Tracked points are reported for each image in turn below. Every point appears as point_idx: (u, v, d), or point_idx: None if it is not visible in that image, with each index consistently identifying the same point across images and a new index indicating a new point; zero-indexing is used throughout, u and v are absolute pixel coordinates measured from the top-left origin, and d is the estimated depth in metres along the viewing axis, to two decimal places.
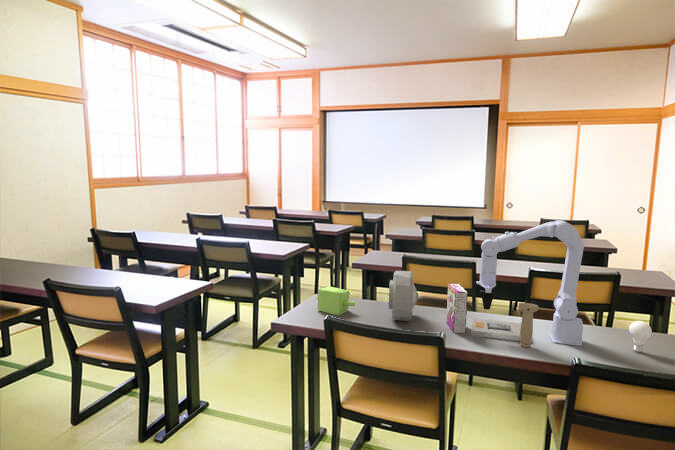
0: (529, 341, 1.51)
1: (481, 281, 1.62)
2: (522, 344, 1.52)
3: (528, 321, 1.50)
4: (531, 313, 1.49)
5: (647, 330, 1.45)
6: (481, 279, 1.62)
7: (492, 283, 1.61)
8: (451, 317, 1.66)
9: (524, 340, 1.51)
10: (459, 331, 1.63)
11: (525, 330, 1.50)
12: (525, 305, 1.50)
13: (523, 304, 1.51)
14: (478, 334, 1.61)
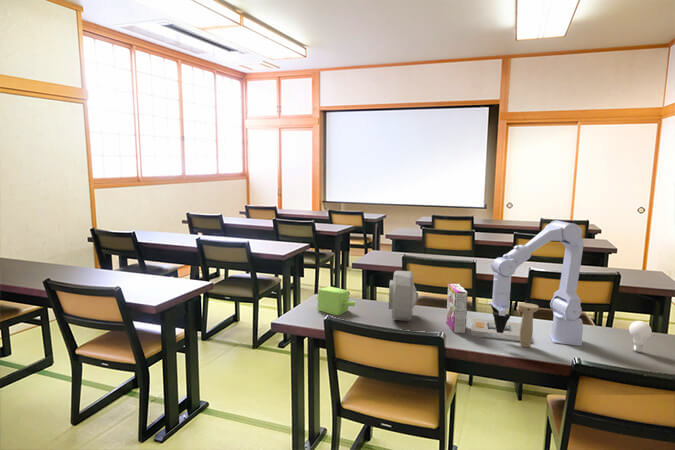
0: (529, 341, 1.51)
1: (494, 302, 1.52)
2: (522, 344, 1.52)
3: (528, 321, 1.50)
4: (531, 313, 1.49)
5: (647, 330, 1.45)
6: (494, 300, 1.52)
7: (506, 305, 1.50)
8: (451, 317, 1.66)
9: (524, 340, 1.51)
10: (459, 331, 1.63)
11: (525, 330, 1.50)
12: (525, 305, 1.50)
13: (523, 304, 1.51)
14: (478, 334, 1.61)
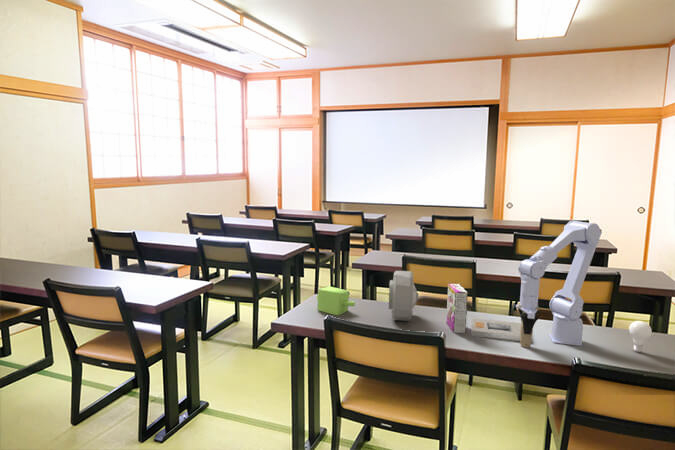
0: (529, 341, 1.51)
1: (522, 305, 1.50)
2: (522, 344, 1.52)
3: None
4: None
5: (647, 330, 1.45)
6: (522, 303, 1.50)
7: (534, 307, 1.48)
8: (451, 317, 1.66)
9: (524, 340, 1.51)
10: (459, 331, 1.63)
11: None
12: None
13: None
14: (478, 334, 1.61)
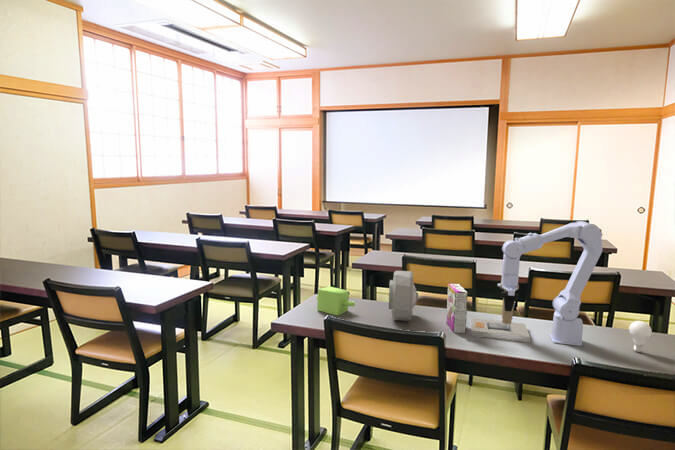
0: (510, 318, 1.59)
1: (503, 283, 1.58)
2: (503, 321, 1.60)
3: None
4: None
5: (647, 330, 1.45)
6: (503, 281, 1.58)
7: (514, 285, 1.56)
8: (451, 317, 1.66)
9: (505, 317, 1.59)
10: (459, 331, 1.63)
11: None
12: None
13: None
14: (478, 334, 1.61)
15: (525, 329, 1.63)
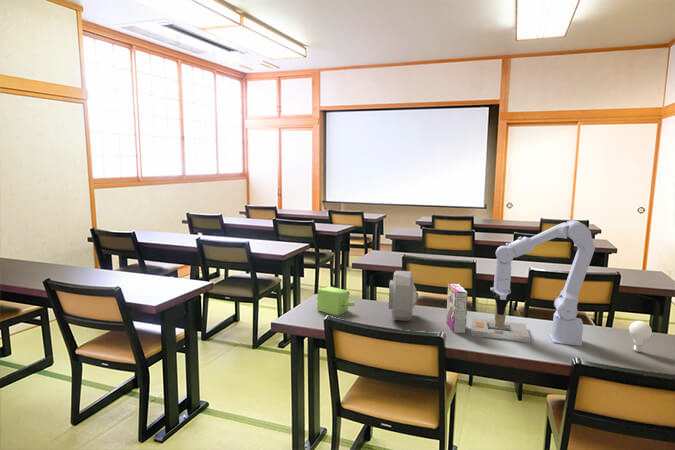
0: (502, 322, 1.63)
1: (495, 288, 1.62)
2: (496, 325, 1.64)
3: None
4: None
5: (647, 330, 1.45)
6: (495, 286, 1.62)
7: (506, 290, 1.60)
8: (451, 317, 1.66)
9: (498, 321, 1.63)
10: (459, 331, 1.63)
11: None
12: None
13: None
14: (478, 334, 1.61)
15: (525, 329, 1.63)
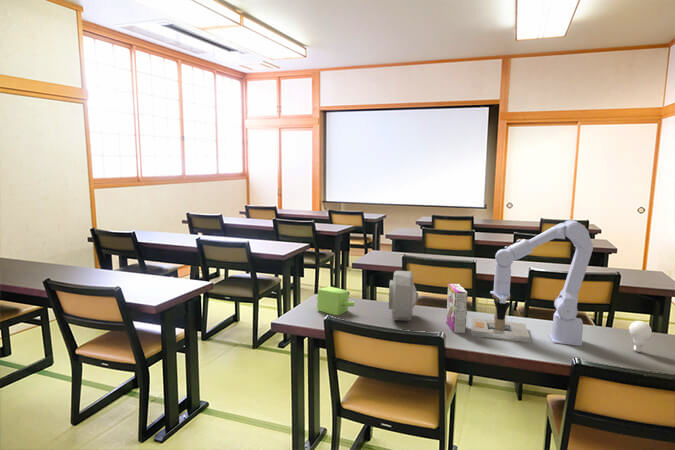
0: (502, 327, 1.63)
1: (495, 291, 1.62)
2: None
3: None
4: None
5: (647, 330, 1.45)
6: (495, 289, 1.62)
7: (506, 293, 1.60)
8: (451, 317, 1.66)
9: (497, 326, 1.64)
10: (459, 331, 1.63)
11: None
12: None
13: None
14: (478, 334, 1.61)
15: (525, 329, 1.63)
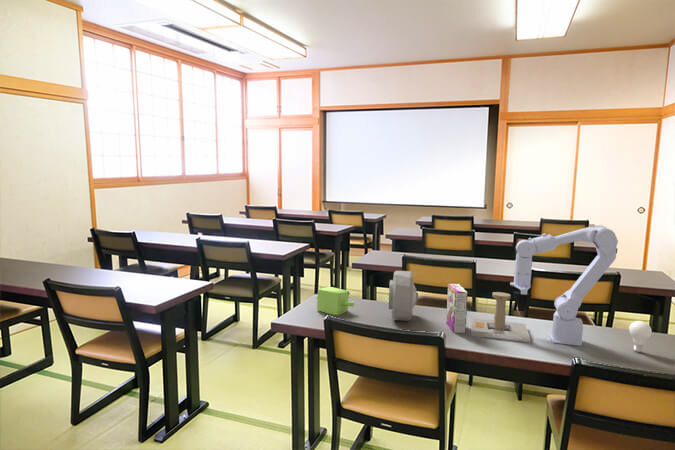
0: (502, 327, 1.63)
1: (515, 282, 1.60)
2: None
3: (501, 309, 1.62)
4: (503, 301, 1.62)
5: (647, 330, 1.45)
6: (515, 280, 1.60)
7: (527, 285, 1.58)
8: (451, 317, 1.66)
9: (497, 326, 1.64)
10: (459, 331, 1.63)
11: (498, 317, 1.63)
12: (498, 294, 1.63)
13: (497, 293, 1.64)
14: (478, 334, 1.61)
15: (525, 329, 1.63)
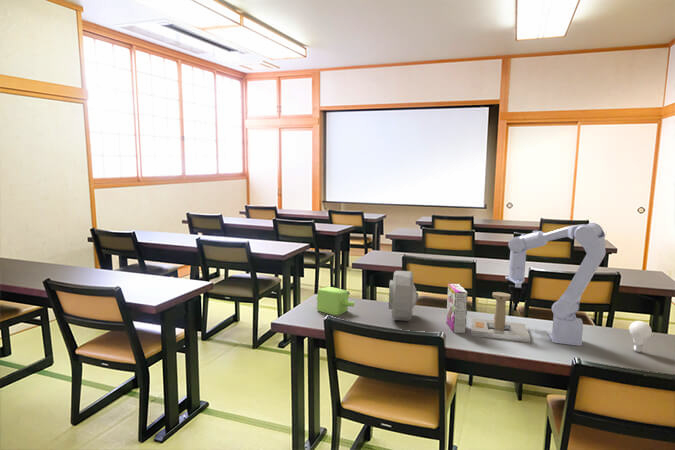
0: (502, 327, 1.63)
1: (510, 276, 1.69)
2: None
3: (501, 309, 1.62)
4: (503, 301, 1.62)
5: (647, 330, 1.45)
6: (510, 274, 1.69)
7: (521, 278, 1.67)
8: (451, 317, 1.66)
9: (497, 326, 1.64)
10: (459, 331, 1.63)
11: (498, 317, 1.63)
12: (498, 294, 1.63)
13: (497, 293, 1.64)
14: (478, 334, 1.61)
15: (525, 329, 1.63)
